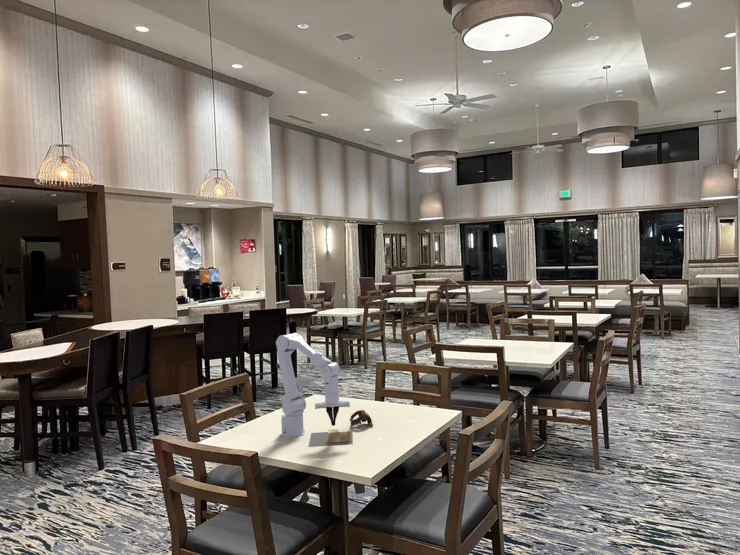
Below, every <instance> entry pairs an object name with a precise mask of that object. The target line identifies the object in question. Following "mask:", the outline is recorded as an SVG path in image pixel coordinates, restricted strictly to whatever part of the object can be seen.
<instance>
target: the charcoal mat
mask: <svg viewBox="0 0 740 555" xmlns="http://www.w3.org/2000/svg"><path fill="white" fill-rule="evenodd" d="M353 436H354V435H353V430H351V429H350V441H341V442H328V431H323V432H320V431H319V432H311V434H310V437H309V443H308V446H307V447H308V448H313V447H330V446H344V445H348V446H349V445H353V439H354V438H353Z"/></svg>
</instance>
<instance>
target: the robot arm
mask: <svg viewBox="0 0 740 555" xmlns="http://www.w3.org/2000/svg"><path fill="white" fill-rule="evenodd" d="M275 345H276V349H277V350H276V355H277V358H278V359H277V360H278V364H279V365H278V366H279V368H280V374H281V377H282V384H283V387H284V388H283V389H284V392H285V393H284V395H283V396H282V398H281V402H282V404H281V410H282V412H283V414H281V422H280V423H281V437H282V438H286V437H287V438H288V437H290V438H291V437H302V436H303V437H304V436H305V432H306V429H305V428H304V415H303V414H304V413H305V412H304V411H305V410H306V407H307V401H306V399H305V398H304V394H303V393H302V392H300V391H299V390H298V385H297V381H296V377H295V371H294V367H293V361H292V356H291V355H292V353H293V352H294V351H295V350H298V351H299V352H301V353H302V354H303V355H305V356H306V357H307V358H309V360H310V361H309V362H310V363H311V365H313V366H314V368H316V369H317V370H319V371H320V375H321V377H322V379H323V380H322V381H323V382H324V385H323V386H324V401H323V402H316V403H314V410H317V409H318V410H319V409H325V411H326V414H327V415H328V417H329V420H330V423H331V426H332V427H333V426H336V421H337V420H336V419H337V417H338V414H339V411H340V408H351V401H348V400H347V401H346V400H345V401H344V400H343V401H342V400H340V394H339V389H340V388H339V375H340V374H341V366H340V365H339V364H338V363H337V362H336V361H331V360H330V359H328V358H327V357H326V356H325V355H324V353H323V352H316V351H315V350H314V349H313V348H312V347H311V346H310V345H309V344H308V343H307V342H306V341H305V340H304V338H303V336H302V335H300V334H299V333H297V332H293V333H289V334H283V335H282V334H281V335H278V337H277V338H276V341H275Z"/></svg>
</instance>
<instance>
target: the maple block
mask: <svg viewBox="0 0 740 555" xmlns="http://www.w3.org/2000/svg"><path fill="white" fill-rule="evenodd" d="M350 431H351V429H350V427H348V428H333V429H327V432H328V442H341V441H350Z"/></svg>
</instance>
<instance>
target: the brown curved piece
mask: <svg viewBox="0 0 740 555" xmlns="http://www.w3.org/2000/svg"><path fill="white" fill-rule="evenodd" d="M357 416H358V417H357ZM356 417H357V418H356ZM349 422H350V426H351V427H354V426H358V425H362V423H366V422H367V424H368V425H370V427H371V428H373V427H374V424H373V420H372V418H371V416H370V414H368V412H366V411H365V410H364V409H359V410H357V411H355V412H353V413H352V414H351V416H350V418H349ZM372 426H373V427H372Z"/></svg>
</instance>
